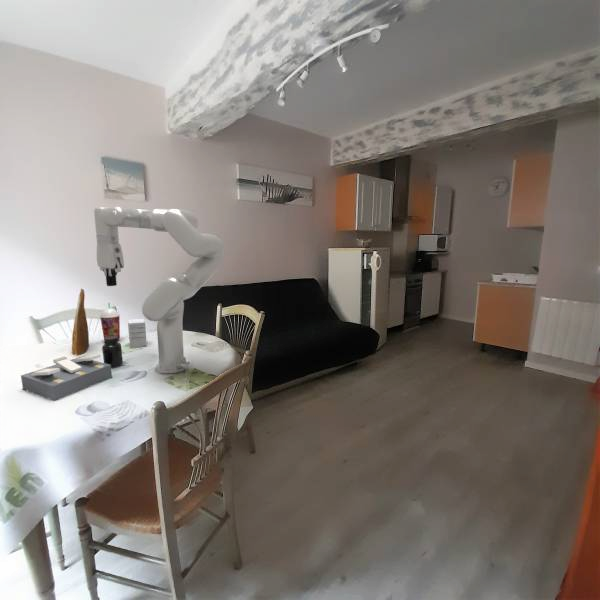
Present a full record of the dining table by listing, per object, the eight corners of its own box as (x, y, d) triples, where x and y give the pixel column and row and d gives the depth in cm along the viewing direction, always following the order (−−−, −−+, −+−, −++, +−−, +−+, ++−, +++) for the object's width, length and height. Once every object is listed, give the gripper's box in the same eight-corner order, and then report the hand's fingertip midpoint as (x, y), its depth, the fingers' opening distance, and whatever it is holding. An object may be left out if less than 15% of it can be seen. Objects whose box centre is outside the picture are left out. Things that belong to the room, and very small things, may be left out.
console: (112, 377, 122) (110, 363, 121) (54, 400, 104) (52, 384, 103) (81, 368, 129) (80, 355, 128) (22, 389, 111) (20, 373, 110)
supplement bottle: (117, 361, 138) (114, 334, 136) (126, 364, 134) (124, 337, 132) (100, 366, 132) (97, 338, 130) (109, 369, 129) (107, 341, 126)
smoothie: (119, 338, 168) (116, 300, 164) (123, 342, 162) (120, 303, 158) (101, 340, 163) (97, 302, 159) (104, 345, 156) (100, 305, 153)
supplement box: (129, 344, 159) (127, 319, 157) (146, 342, 163) (144, 318, 160) (129, 348, 153) (127, 323, 150) (147, 346, 156) (145, 321, 154)
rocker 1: (60, 370, 108) (59, 367, 108) (48, 374, 105) (47, 371, 105) (43, 371, 113) (42, 368, 113) (32, 375, 109) (31, 372, 109)
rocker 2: (81, 369, 115) (81, 366, 115) (71, 373, 112) (71, 370, 112) (63, 359, 119) (64, 356, 118) (53, 362, 115) (53, 359, 115)
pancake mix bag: (94, 342, 160) (88, 287, 154) (88, 355, 143) (81, 293, 138) (78, 344, 157) (72, 287, 152) (69, 357, 140) (62, 294, 135)
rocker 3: (100, 357, 121) (99, 354, 121) (90, 360, 118) (89, 357, 118) (84, 358, 125) (83, 355, 125) (74, 361, 122) (73, 358, 122)
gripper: (129, 240, 127) (133, 286, 130) (104, 239, 133) (107, 283, 136) (112, 240, 120) (116, 288, 124) (85, 239, 126) (90, 285, 129)
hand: (111, 285), depth 130 cm, fingers closed
